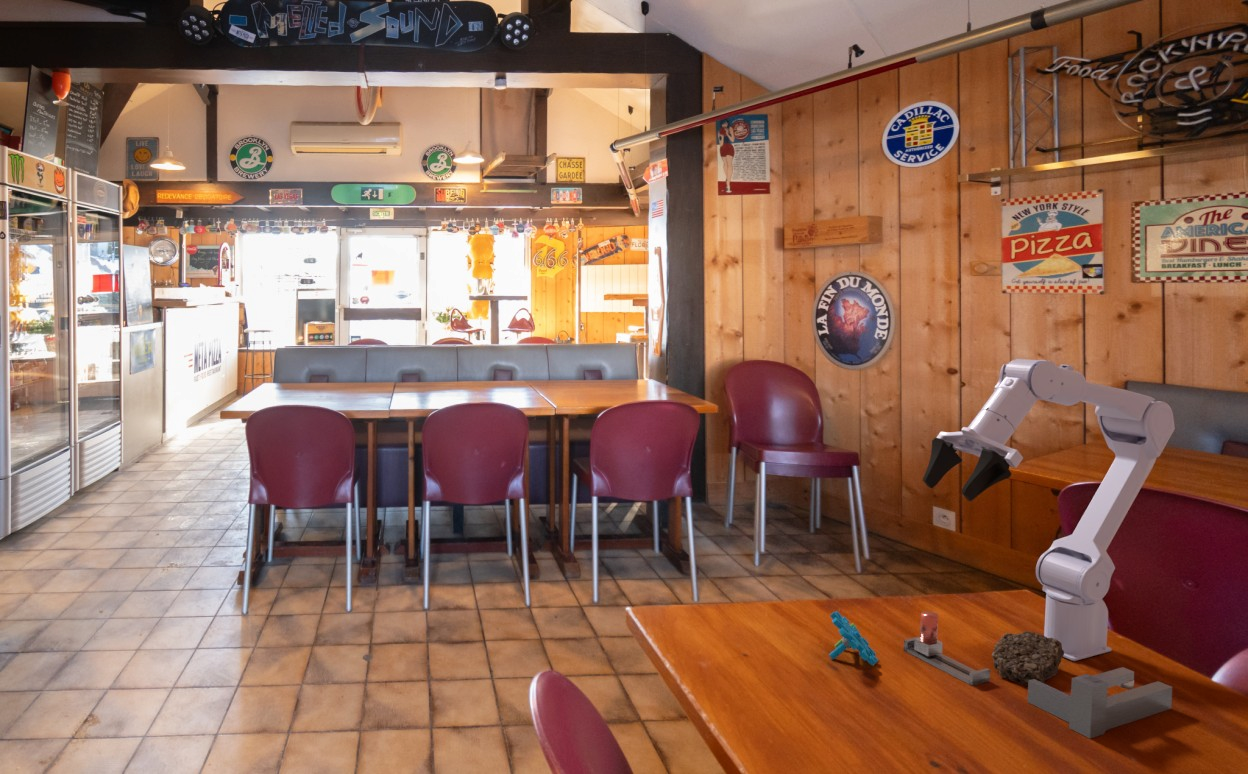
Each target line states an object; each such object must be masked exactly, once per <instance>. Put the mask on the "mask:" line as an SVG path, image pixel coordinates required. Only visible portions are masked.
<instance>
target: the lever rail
mask: <svg viewBox="0 0 1248 774" xmlns="http://www.w3.org/2000/svg"><path fill="white" fill-rule="evenodd" d="M916 638H920V636H915V637H911V638H908V639H904V640H903V651H904V652H905V653H907V654H910V655H911V656H914V657H916V658H917V659H919V660H921V661H923V662H925V663H927V664H929V665H931V666H933V667H935V668H937V669H939V670H941V671H942V672H945V673H947V674H948V675H951V676H953V677H955V678H956V679H959V680H960V681H963V682H964V683H966V684H967V685H970V686H976V685H981V684H984V683H988V682H990V679H991V678H990V677H991V669H989V668H987V667H986V668H983V669H978V670H975V669H973V668H971V667H970V666H967V665H965V664H963V663H961V662H959V661H958V660H955V659H954V658H951V657H949V656H947V655H945V654H943V653H941V654H937V655H933V656H926V655H924V654H922V653H920V652H918V651H916V650H914V645H915V639H916Z"/></svg>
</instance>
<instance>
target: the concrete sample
mask: <svg viewBox="0 0 1248 774" xmlns="http://www.w3.org/2000/svg"><path fill="white" fill-rule="evenodd" d="M991 656H992V658H993V660H992V662H993V666H994V667H993V668H994V669H995V670H998V675H999V676H1000V677H1002V678H1003V679H1008V680H1009V681H1012V682H1015V683H1018V684H1020V685H1023V686H1028V681H1029V680H1032V679H1035V680H1038V681H1040V682H1042V683H1044V684H1045V683H1046V680H1049V679H1050V678H1053V677H1054V676H1055V675H1057V674H1058V672H1059V667H1060V664H1061V662H1062V659H1063V656H1064V651H1063V650H1062V644H1061V642H1059V641H1058V640H1056V639H1054V638H1047V637H1045V636H1044V634H1039V633H1036V632H1032V631H1028V630H1025V631H1023V632H1021V633H1011V632H1005V633H1004V634H1003V635H1002V636H1001V637H1000V639H999V641H997V642H996V643H995V645H994V647H993V652H992V653H991Z"/></svg>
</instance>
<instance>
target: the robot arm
mask: <svg viewBox="0 0 1248 774" xmlns="http://www.w3.org/2000/svg"><path fill="white" fill-rule="evenodd" d="M1074 368H1075V367H1074V366H1073V365H1070V364H1060V366H1058V365H1056V364H1055V362H1053V361H1052V360H1046V359H1028V358H1027V359H1024V358H1014V359H1013V360H1011V361H1009V362H1008V363H1003V365H1001V368H1000V370H999V371H1000V372H999V374H998V375H999V377H998V381H997V383H996V384H995V386H994V390H993V393H991V395H990V397H989V398H988V400H987V401H986V402H985V403H984V405H983V406H982V408H981V409H980V410H979V412H978V413H977V415H975V417H974V419H973V420H971V422H970V424H969V425H968V426H967V427H966V426H963V427H962V428H961V431H952V432H949V431H947V432H946V431H940V432H939V433H938V434H937V436H936V437H934V438H933V439H932V440H931V450H930V451H931V453H930V457H929V462H928V465H927V468H926V471H925V473H924V474H923V475H924V476H923V478H922V481H923V483H924V484H925V485H926V486H927V488H929V489H933V488H934V487H936V486H937V485H938V484H939V482H940V481H941V480H942V479H943V477H945V475H946V474H947V473H948V472H949V471H950V470H952V469H953V468H955V467H956V466H957V465H959V464H960V463H962V462H963V459H962V458H961V457H960V455H959V454H958V453H957V451H958V452H959V451H960V452H963V453H967V454H970V455H974V456H976V457H978V461H977V463H976V465H975V467H974V470H973V471H972V473H971V475H970V476H969V477H968V479H967V481H966V482H965V483H964V485H963V487H962V489H961V491H960V493H961V494H962V495H963V496H964V498H965V499H966V500H967V501H969V502H972V501H974V500H975V499H976V498H977V497H978V496H980V495H981V494H982V493H983V492H985V491H986V490H987V489H989V488H991V487H992V486H994V485H996V484H997V483H999V482H1002V481H1004V480H1007V479H1010V477H1011V476H1012V471H1011V470H1010V467H1011V468H1015V469H1017V468H1018V466H1019V465H1020V463H1021V462H1022V461H1023V460H1024V457H1023V456H1022V453H1020V451H1019V450H1018V449H1016V448H1013V447H1009V446H1007V445H1006V444H1007V442H1008V441H1009V440H1010V438H1011V437H1012V436H1013V434H1014V433H1015V431H1016V430H1017V428H1018V427H1019V426H1020V424H1021V423H1022V421H1024V418H1025V417H1026V416H1027V415H1028V414H1029V412H1030V411H1031V409H1032V408H1033V406H1034V405H1035V403H1036V402H1037V401H1038V400H1041V401H1046V402H1050V403H1054V404H1057V405H1062V406H1068V407H1070V406H1075V405H1077V404H1078V403H1080V402H1083V403H1085V404H1088V405H1092V406H1095V410H1094V415H1095V416H1096V417H1097V419H1096V420H1097V423H1098V427H1099V429H1100V431H1101V433H1102V435H1103V438H1104V440H1105V442H1106V445H1107V447H1108V449H1109V450H1111V451H1112V452H1113V453H1114V455H1115V457H1114V460H1113V461H1112V463H1111V465H1110V467H1109V469H1108V471H1107V472H1106V474H1105V476H1104V478H1103V479H1102V481H1101V483H1100V485H1099V487H1098V488H1097V490H1096V491H1095V494H1094V495H1093V496H1092V499H1091V501H1090V502H1089V504H1088V506H1087V508H1086V509H1085V511H1084V512H1083V514H1082V516H1081V518H1080V520H1079V522H1078V523H1077V525H1076V527H1075V529H1074V530H1073V532H1072V534H1069V535H1067V536H1064V537H1061V538H1058V539H1055V540H1053V542H1052V544H1051V546H1050V547H1049V548H1048V549H1047V550H1046V551H1044V552H1043V553H1042V554H1041V555H1040V557H1039V558H1038V559H1037V563H1036V566H1035V577H1036V580H1037V581H1038V582H1039V583H1040V584H1041V585H1042V591H1043V592H1045V594H1046V595H1045V611H1044V612H1045V613H1044V616H1045V617H1044V630H1043V633H1044V634H1043V635H1044V636H1045V637H1047V638H1054V639H1056V640H1058V641H1059V642H1061V644H1062V650H1063V651H1064V656H1062V658H1066V659H1068V660H1070V661H1073V662H1076V661H1079V660H1082V659H1083V660H1084V659H1087V658H1091V657H1093V656H1097V655H1102V654H1106V653H1109V652H1112V648H1111V647H1110V646H1107V642H1108V627H1109V626H1108V624H1109V622H1108V621H1109V609H1108V607H1107V605H1106V603H1105V601H1104V599H1103V598H1104V597H1105V596H1106V595H1107V593H1108V592H1109V589H1110V586H1111V578H1112V576H1113V573H1114V571H1115V569H1116V566H1115V565H1114V563H1113V560H1112V558H1111V556H1110V555H1109V554H1108V551H1107V550H1108V548H1109V546H1110V545H1111V543H1112V540H1113V539H1114V537H1115V535H1116V533H1117V532H1118V530H1119V528H1120V526H1121V525H1122V523H1123V521H1124V519H1125V517H1126V516H1127V515H1128V513H1129V512H1128V511H1129V510H1130V508H1131V506H1132V505H1133V503H1134V501H1135V499H1137V496H1138V494H1139V492H1140V490H1141V489H1142V487H1143V485H1144V483H1145V481H1146V480H1147V478H1148V477H1149V474H1150V473H1151V471H1152V470H1153V467H1154V465H1155V463H1156V461H1157V458H1159V457H1160V456H1161V455H1162V453H1163V451H1164V449H1165V447H1166V445H1167V444H1168V441H1169V440H1170V438H1171V437H1172V434H1173V433H1174V431H1175V429H1176V426H1175V420H1174V413H1173V410H1172V408H1171V406H1170V405H1169V404H1168V403H1167V402H1165V401H1159V400H1158V401H1156V398H1154V397H1152V396H1149V395H1145V394H1142V393H1139V392H1134V391H1131V390H1127V389H1124V388H1123V389H1122V388H1118V387H1113V386H1107V385H1104V384H1098V383H1094V382H1088V381H1087V380H1086V379H1087V378H1086V377H1085V375H1083V374H1082V373H1081V372H1080V371H1078V370H1077V371H1076V370H1074Z"/></svg>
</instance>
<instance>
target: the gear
mask: <svg viewBox="0 0 1248 774" xmlns="http://www.w3.org/2000/svg"><path fill="white" fill-rule="evenodd" d="M829 616H830V618H831V619H832V620H831V622H832V623H833V625H834V626H835V627H836V628H838V633H839V634H840V636H841V637H842V638H841V639H840V640H838V642H837V643H835V644H834V647H835V649H834V650H832V651H831V652H830V653H829V655H828V656H829V657H830V658H831V660H835V659H836V658H837V657H839V656H840V655H841V654H842V653H843V652H844V651H845V650H847V649H848V650H850V649H851V648H852V650H853V651H856V650H857V651H858V652H859V653H858V655H859V657H861V659H863V661H864V662H865V661H867V663H868V664H869V665H871V666H874V665H876V664H877V662H879V659H878V658H877V656H876V654H877V653H876V652H875V651H874V649H872V648H871V647H870V646H869V645H870V643H869V642H868V640H867V639H866V638H865V637H863V636H862V635H861V633H860V631H859V629H858V627H857V626H856V625H855V624H854V622H852V623H850V620H848V619H847V617H846V616H843V615H842V614H841V613H840V612H839V611H837V610H836V611H833V612H832V613H831V614H830V615H829Z"/></svg>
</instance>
